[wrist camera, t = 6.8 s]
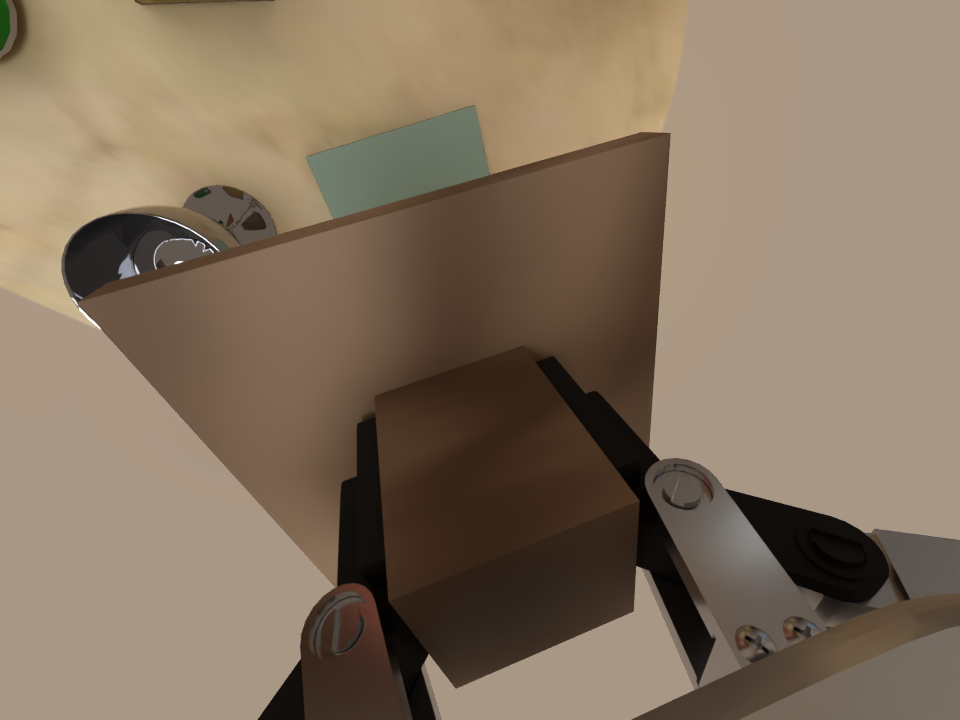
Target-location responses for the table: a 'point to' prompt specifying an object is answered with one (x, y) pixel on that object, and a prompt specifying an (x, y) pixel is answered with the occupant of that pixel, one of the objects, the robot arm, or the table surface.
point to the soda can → (7, 26)
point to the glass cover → (435, 386)
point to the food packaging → (181, 1)
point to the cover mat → (401, 163)
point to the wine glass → (160, 237)
